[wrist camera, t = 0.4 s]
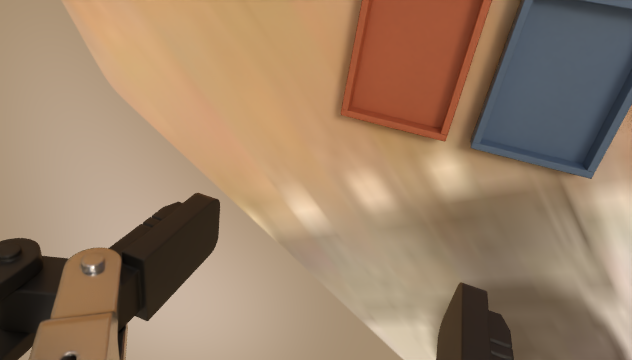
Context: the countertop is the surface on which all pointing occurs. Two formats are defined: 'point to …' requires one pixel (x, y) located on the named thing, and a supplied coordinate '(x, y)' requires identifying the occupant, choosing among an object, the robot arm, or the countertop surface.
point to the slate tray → (560, 85)
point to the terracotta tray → (412, 62)
